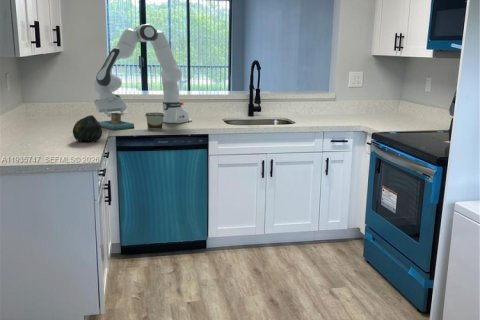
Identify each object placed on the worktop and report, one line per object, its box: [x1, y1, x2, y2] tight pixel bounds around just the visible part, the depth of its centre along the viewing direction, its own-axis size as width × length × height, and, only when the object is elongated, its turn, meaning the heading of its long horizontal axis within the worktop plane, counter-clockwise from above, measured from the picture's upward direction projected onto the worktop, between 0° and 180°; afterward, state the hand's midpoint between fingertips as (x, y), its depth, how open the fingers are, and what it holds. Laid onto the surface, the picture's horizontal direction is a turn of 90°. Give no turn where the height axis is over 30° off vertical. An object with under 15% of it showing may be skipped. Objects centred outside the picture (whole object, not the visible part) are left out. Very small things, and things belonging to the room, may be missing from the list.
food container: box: [145, 111, 164, 130], centre depth 299 cm, size 12×6×10 cm, turn 84°
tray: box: [98, 119, 135, 131], centre depth 300 cm, size 14×20×3 cm
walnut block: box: [110, 112, 122, 125], centre depth 299 cm, size 4×4×8 cm
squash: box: [72, 115, 103, 142], centre depth 250 cm, size 14×15×15 cm
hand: (116, 115), depth 299 cm, fingers open, 8 cm apart
